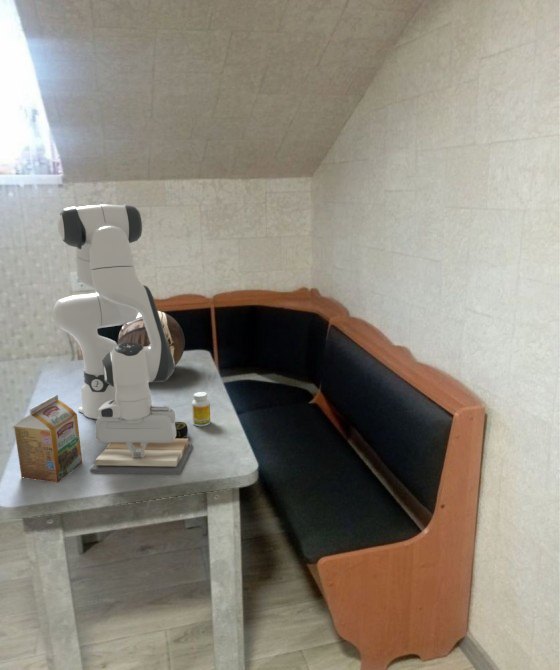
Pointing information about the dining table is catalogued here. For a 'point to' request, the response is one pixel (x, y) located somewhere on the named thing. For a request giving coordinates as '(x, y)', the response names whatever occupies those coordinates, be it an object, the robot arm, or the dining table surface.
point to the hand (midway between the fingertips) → (138, 456)
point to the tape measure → (181, 429)
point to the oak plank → (154, 445)
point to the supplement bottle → (201, 409)
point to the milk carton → (48, 441)
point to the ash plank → (150, 459)
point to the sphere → (139, 334)
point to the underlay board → (144, 467)
